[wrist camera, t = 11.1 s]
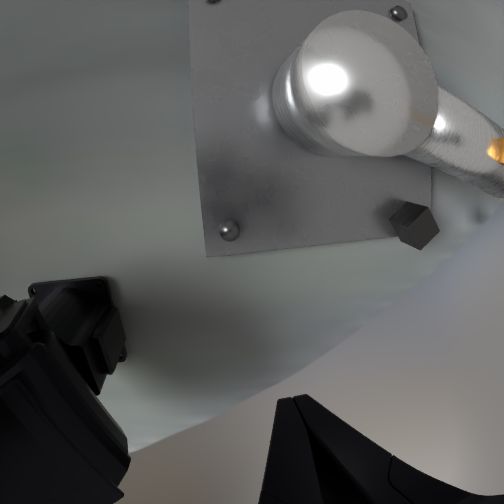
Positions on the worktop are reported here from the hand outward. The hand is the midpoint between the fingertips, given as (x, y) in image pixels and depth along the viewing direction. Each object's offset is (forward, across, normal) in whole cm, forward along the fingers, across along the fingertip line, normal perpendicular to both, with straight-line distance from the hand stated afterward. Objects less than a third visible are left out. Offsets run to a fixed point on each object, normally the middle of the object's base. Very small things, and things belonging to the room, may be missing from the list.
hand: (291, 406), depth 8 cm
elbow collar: (+12, -11, -9) cm, 18 cm away
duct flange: (+13, -6, -10) cm, 17 cm away
